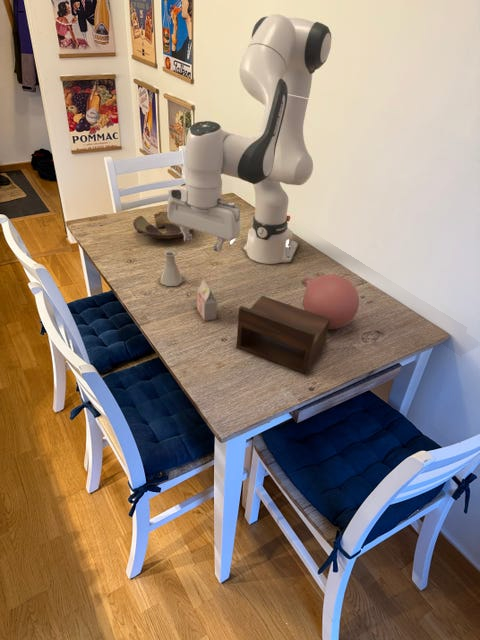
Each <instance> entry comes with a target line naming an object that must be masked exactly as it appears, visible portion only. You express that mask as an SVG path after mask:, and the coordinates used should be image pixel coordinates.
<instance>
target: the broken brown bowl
mask: <svg viewBox="0 0 480 640" xmlns="http://www.w3.org/2000/svg"><path fill="white" fill-rule="evenodd" d="M154 222H155V225H156V226H154V225H153V224H151V222H149V221H148V220H147V219H145V217H144V216H143V215H139V216H137V217H135V218H134V220H133V222H132V224H133V228H134V229H135V231H136V233H137V234H141V235H143V236H146V237H152V238H156V239H172V238H173V239H174V238H180V237H182V236H184V235H183V233H182V231H181V229H180V225H178V224H175V223H172V222H170V221H169V219H168V216H167V211H159V212H158V213H154ZM163 228H165V229H166V231H167V232H165V233H163V232H162V231H160V230H159V229H163ZM188 230H189V233H190V234H191V232H193V230H194V229H191V228H188Z"/></svg>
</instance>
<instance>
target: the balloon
mask: <svg viewBox="0 0 480 640" xmlns="http://www.w3.org/2000/svg"><path fill="white" fill-rule="evenodd" d="M301 284H302V285H303V286H304V287H305V291H304V293H303V301H302V303H303V304H302V305H303V310H306V311H309V312H312V313H315V314H318V315H320V316H323V317H326V318H329V319H330V323H329V328H328V330H335V329H339V328H342V327H344V326H346V325H348V324H349V323H350V322H351V321H352V320H353V319H354V318H355V317H356V315H357V313H358V310H359V307H360V306H359V305H360V297H359V293H358V290H357V289H356V286H355V285H354V284H353V283H352V281H350V280H349V279H348V278H347V277H345V276H343V275H339V274H335V273H330V274H324V275H320V276H318V277H315V276H313V277H311V276H308V275H303V278H302V279H301Z"/></svg>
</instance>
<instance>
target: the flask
mask: <svg viewBox="0 0 480 640" xmlns="http://www.w3.org/2000/svg"><path fill="white" fill-rule="evenodd" d="M175 256H176V252H174V251H171V250H170V251H169V250H168V251H166V252H165V253H164V257H165V258H166V259H165V265H164V267H163V271H162V274H161V277H160V284H161V285H164V286H167V287H177V286H179V285H180V284H181V283H183V276H182V274H181V272H180V270H179V268H178V265H177V263H176V259H175Z"/></svg>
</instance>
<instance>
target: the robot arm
mask: <svg viewBox="0 0 480 640" xmlns="http://www.w3.org/2000/svg"><path fill="white" fill-rule="evenodd" d="M331 48H332V33H331V30H330V28H329V26H327V25H326V24H324V23H323V22H319V21H312V20H308V19H304V18H299V17H286V16H285V15H282V14H279V13H276V14H275V13H273V14H270V15H267V16H263V17H261V18H260V19H258V21H256V23H255V24H254V26H253V29H252V32H251V38H250V41H249V43H248V45H247V47H246V49H245V52H244V54H243V56H242V58H241V61H240V65H239V71H238V72H239V79H240V82H241V84H242V86H243V88H244V90H246V92H247V93H248V94H249V95H250V96H251V97H252V98H253V99H255V100H256V101H258V102H259V103H261V104H262V105H263V106H264V110H263V114H262V119H261V121H260V125H259V130H258V133H257V135H255V136H252V137H248V136H243V135H238V134H235V133H231V132H228V131H225V130H223V128H222V126H221V125H220V123H218V122H216V121H211V120H204V121H197V122H194V123H193V124H191V125H190V126H189V128H188V130H187V135H186V139H185V152H184V153H185V155H184V157H185V158H184V160H185V161H184V162H185V163H184V165H185V167H186V177H185V182H182V183H179V184H176V185H175V186H172V187H170V188H169V189H168V190H167V192H168V193H167V194H168V200H167V206H166V208H167V209H166V210H167V211H166V212H167V216H168V219H169V221H170V222H172V223H175V224H178V225H180V229H181V231H182V233H183V235H182V236H183V241H184V242H186V243H190V242H192V241H193V234H192V233H191V232H190V233H189V230H188V228H191V229H193V230H195V231H197V232H201V233H204V234H207V235H211V236H213V237H217V241H218V242H216V243H215V244H214V245H213V251H214V252H217V253H220V252H222V250H223V244H224V243H225V242H226V241H230V245H232V244H233V242H234V241H235V240H236V239H237V238H238V237H239V236H240V234H241V220H240V219H241V209H240V208H239V206H238V205H236V203H235V202H233V201H227V200H225V199H222V198H223V197H222V196H223V193H222V192H223V179H222V175H225V176H229V177H232V178H236V179H239V180H242V181H244V182H247V183H249V184H252V185H253V190H254V196H255V204H254V215H253V217H252V226H251V228H249V229H248V234H247V241H246V244H244V245H243V250H244V251H245V253H246V255H247V257H248V258H249V259H250V260H252V261H253V262H257V263H259V264H265V265H273V264H280V263H281V264H282V263H291V262H292V259H293V257H294V255H295V254H296V251H297V249H298V242H297V241H295V240H293V238H294V232H293V230H291V229H290V228H289V227H288V226H289V224H288V222H290V220H291V215H288V209H289V201H290V200H289V196H288V194H287V192H286V191H285V190H284V189H283V187H282V185H281V183H282V184H286V185H291V186H303V185H304V184H305V183H307V182H308V181H309V180H310V178H311V176H312V174H313V170H314V161H313V158H312V155H310V153H309V152H308V148H307V146H306V143H305V137H304V123H305V118H306V114H307V113H306V112H307V108H308V104H309V98H310V94H311V88H312V81H313V74H314V73H315V71H316V70H319V69H320V68H321V67H322V66H323V65H324V64H325V63H326V62H327V59H328V57H329V54H330V52H331Z"/></svg>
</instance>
